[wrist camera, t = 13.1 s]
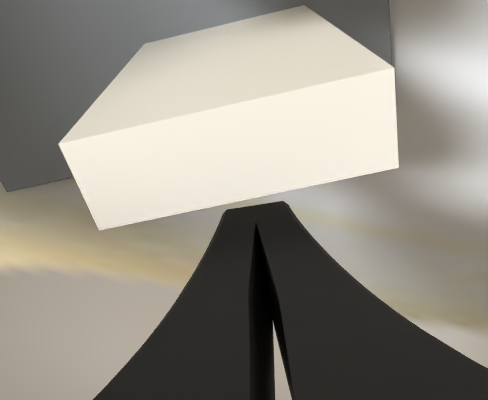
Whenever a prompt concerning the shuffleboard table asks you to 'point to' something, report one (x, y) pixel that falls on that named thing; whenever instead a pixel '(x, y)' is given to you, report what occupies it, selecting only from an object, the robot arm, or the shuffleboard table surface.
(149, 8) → the slate mat
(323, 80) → the domino
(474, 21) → the shuffleboard table surface
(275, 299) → the robot arm
